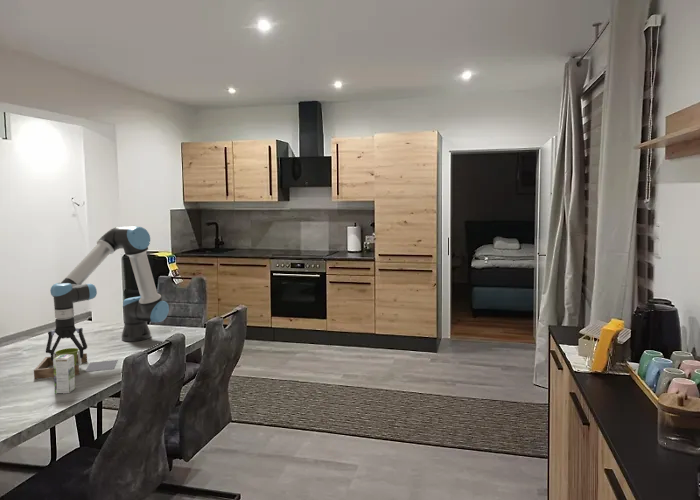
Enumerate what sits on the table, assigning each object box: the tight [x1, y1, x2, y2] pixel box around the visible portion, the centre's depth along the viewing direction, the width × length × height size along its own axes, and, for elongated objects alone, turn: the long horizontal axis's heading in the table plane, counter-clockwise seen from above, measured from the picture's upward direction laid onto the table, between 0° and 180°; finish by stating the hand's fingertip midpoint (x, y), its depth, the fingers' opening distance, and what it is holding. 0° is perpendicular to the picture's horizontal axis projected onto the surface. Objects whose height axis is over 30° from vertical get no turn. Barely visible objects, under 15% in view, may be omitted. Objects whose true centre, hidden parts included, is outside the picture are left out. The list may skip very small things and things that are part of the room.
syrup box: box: [52, 354, 76, 395], centre depth 210 cm, size 6×6×14 cm
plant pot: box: [55, 347, 79, 366], centre depth 238 cm, size 9×9×9 cm
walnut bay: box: [33, 352, 88, 380], centre depth 238 cm, size 17×20×4 cm
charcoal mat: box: [84, 359, 118, 373], centre depth 243 cm, size 12×14×1 cm
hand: (68, 365), depth 239 cm, fingers closed on plant pot, 9 cm apart
